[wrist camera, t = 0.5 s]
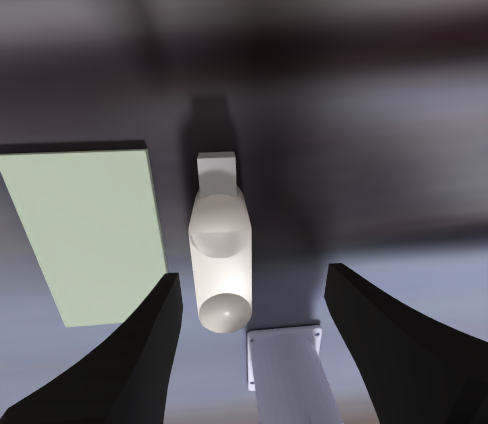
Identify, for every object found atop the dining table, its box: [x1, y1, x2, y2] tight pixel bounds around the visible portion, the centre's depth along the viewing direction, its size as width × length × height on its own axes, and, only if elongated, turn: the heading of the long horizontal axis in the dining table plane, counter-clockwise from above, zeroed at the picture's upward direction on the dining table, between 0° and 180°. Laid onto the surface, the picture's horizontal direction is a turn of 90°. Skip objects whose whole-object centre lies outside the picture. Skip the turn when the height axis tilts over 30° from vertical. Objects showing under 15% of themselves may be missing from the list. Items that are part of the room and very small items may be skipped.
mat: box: [0, 149, 169, 327], centre depth 21 cm, size 16×10×1 cm, turn 1°
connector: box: [189, 152, 252, 333], centre depth 20 cm, size 13×4×5 cm, turn 1°
